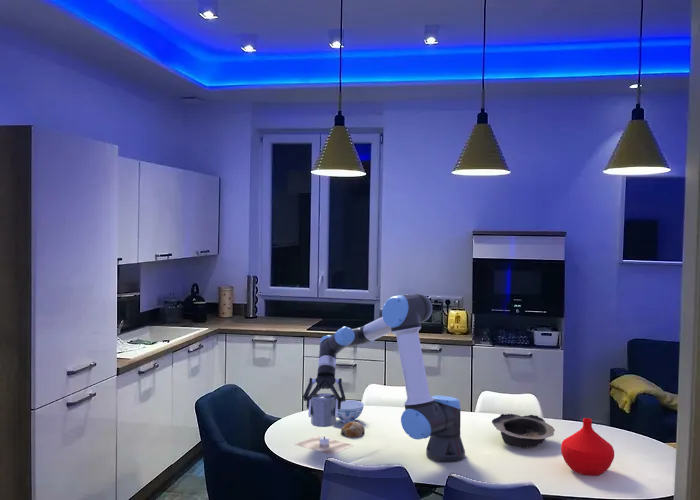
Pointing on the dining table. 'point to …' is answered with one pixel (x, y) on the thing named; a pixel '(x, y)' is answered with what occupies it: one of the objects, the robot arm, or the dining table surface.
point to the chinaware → (350, 410)
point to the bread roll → (353, 429)
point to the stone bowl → (523, 429)
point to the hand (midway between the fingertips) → (322, 415)
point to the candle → (324, 441)
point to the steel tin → (323, 410)
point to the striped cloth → (331, 449)
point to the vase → (587, 451)
